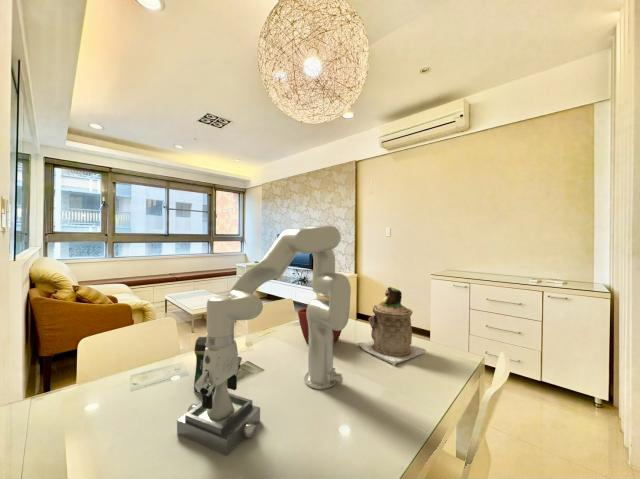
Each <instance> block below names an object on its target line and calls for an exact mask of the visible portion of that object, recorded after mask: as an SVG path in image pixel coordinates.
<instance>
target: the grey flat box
mask: <svg viewBox="0 0 640 479" xmlns="http://www.w3.org/2000/svg"><path fill="white" fill-rule="evenodd" d="M228 394H229V397H230V400H231V402H232V404H233V407H234V410H233V411H232V413H231V414H230V415H229V416H227V417H224V418H222V419H220V420H217V419H212V418H209V416H208V414H207V411H208V409H207V408H204V407H202V402H201V403H199V404H197V403H192V404H190V406H188V409H187V413H185V414H183V415H182V416H180V417H179V418H178V419H177V420H176V435H178V436H180V437H183V438H185V439H188V440H189V441H192V442H195V443H197V444H199V445H202V446H203V447H206V448H209V449H211V450H213V451H215V452H217V453H220V454H222V455H225V456H228V455H230V453H231V452H233V450H234V449H235V448H236V447H237V445H239V444H240V442H242V440H244V438H245V437H246V438H248V439H252V438H253V436H254V435H255V432H256V426H257V425H258V423H260V422H261V407H259V406H257V405H254V404H253V399H249V398H246V397H242V396H239V395H237V394H236V395H235V394H232V393H230V392H228ZM212 395H214V393H212Z"/></svg>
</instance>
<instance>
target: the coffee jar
mask: <svg viewBox="0 0 640 479" xmlns="http://www.w3.org/2000/svg"><path fill="white" fill-rule="evenodd" d="M205 342H207V336H198V337H197V338H196V340H195V345H194V349H193V350H194V354H195V358H196V359H195V361H196V363H195V364H196V365H195V372H194V374H195V375H194V381H193V390H194V391H195V392H197V389H196V388H195V386H194V385H195V383H196V382H197V380H198V379H199V378H200V377H201V375H202V373H203V359H204V353H205V348H206V346H205ZM209 382H210V381H209ZM203 384H204V383H203ZM209 386H210V385H209V384H208V385H207V387H206V389H207V390H208V388H209ZM215 387H216V386H214V387H213V389H212V392H213V391H215ZM197 393H198V392H197Z"/></svg>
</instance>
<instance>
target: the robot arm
mask: <svg viewBox="0 0 640 479" xmlns="http://www.w3.org/2000/svg"><path fill="white" fill-rule="evenodd" d="M341 239H342V238H341V232H340V231H339V229H338V228H337V227H335V226H333V225H311V226H307V227H304V228H299V227H298V228H287V229H285V230H283V231H282V232H281V234H279V236H278V237H277V238H276V240H275V241H274V243H272V245H271V247H270V248H269V249H268V251H266V254H264V256H263V257H262V259H260V261H258V262H257V263H256V264H254V265H253V266H252V267H251V268H249V269H247V271H246V272H244V273H243V274H242V275H241V276H240V277H239V278H238V280H237V281H236V282H235V284H234V285H233V286H231V289H230V291H229V292H228V293H227V295H216V296H213V297H210V298H208V300H207V302H206V337H207V342H205V346H206V348H205V353H204V359H203V373H202V375H201V377H200V378H199V379H198V380H197V382H196V383H195V385H194V384H193V387H194V386H195V388H196V389H197V393H199V394H201V403H202V407H204V408H207V409H211V408H212V401H213V393H212V392H213V391H212V389H213V387H214V386H218V385H220V384H221V383H223V382H224V381H225V380H226V387H227V389H229V390H233V391H236V390H237V388H238V385H237V384H238V383H237V382H238V377H237V376H238V375H239V370H240V368H241V363H242V359H243V358H242V356H239V351H238V345H237V341H236V340H235V321H248V320H249V321H251V320H254V319H255V318H257V317H258V316H260V315H261V314H262V311H263V308H264V305H263V301H262V300H261V299H260V297H259V296H257V295H256V294H254V293H255V292H256V291H257V289H258V288H260V287H261V286H262V285H264V284H266V283H267V282H270V281H273V280H275V279H277V278H279V277H281V276H283V275H284V273H285V272H286V270H287V268H288V267H289V266H290V265H291V263H292V261H293V260H294V258H295V257H296V256H297V254H298V255H299V254H300V255H302V254H303V255H310V254H312V260H313V263H312V264H313V267H312V268H313V269H312V282H311V288H312V291H313V293H314V294H316V295H319V296H321V297H325V298H328V299H329V300H328V299H325V298H320V297H319V298H318V297H317V298H314V299H312V300H310V301H309V302H308V305H307V307H306V308H307V312H306V314H307V321H308V327H309V343H308V363H307V364H308V366H307V367H308V371H307V373H306V374H305V375H304V377H303V381H304V384H306V385H307V386H308V387H309V388H312V389H314V390H315V389H316V390H326V389H330V388H332V387H335V385H336V384H337V382H338V383H341V384H342V383H343V380H344V376H343V374H342V373H338V372H336V367H334V343H333V331H332V330H335V331H339V330H344V329H345V327H346V326H347V325H348V322H349V318H350V307H351V296H352V295H351V294H352V287H351V282H350V280H349V277H347V276H346V275H345V274H343V273H339V272H338V273H337V272H336V256H335V253H334V252H335V251H334V250H333V249H335V248H337V247H338V245H339V244H340V242H341ZM209 381H210V382H209ZM203 383H204V384H203ZM208 384H209V385H210V386H209V388H208V390H207V389H206V387H207V385H208Z"/></svg>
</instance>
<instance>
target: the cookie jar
mask: <svg viewBox="0 0 640 479" xmlns="http://www.w3.org/2000/svg"><path fill="white" fill-rule="evenodd" d="M384 295H385V297H386V299H385V300H383V301H382V302H380V303H379V304H374V306H373V308H372V312H373V315H372V316H370V317H369V318H368V322H369V326H370V328H371V334H370V336H371V338H372V339H370V340H366V341H363V342H357V344H356V345H358V346H359V347H360V348H361V349H362V350H363V351H364V352H366V353H369V354H371V355H373V356H374V357H377V358H379V359H381V360H383V361H385V362H387V363H389V364H391V365H392V366H396V364H400V363H402V362H406V361H408V360H410V359H413V358H416V357H418V356H421V355H425V354H426V351H427V350H426V349H425V348H422V347H420V346H416V345H414V344H412V339H413V338H412V337H413V330H412V329H413V328H412V320H411V316H412V314H413V310H412V309H411V308H409V307H407V306H404V305H402V298H403V297H402V296H403V293H402V291H401V290H399V289H397V288H394V287H392V286H389V287H387V289H386V290H385V292H384Z"/></svg>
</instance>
